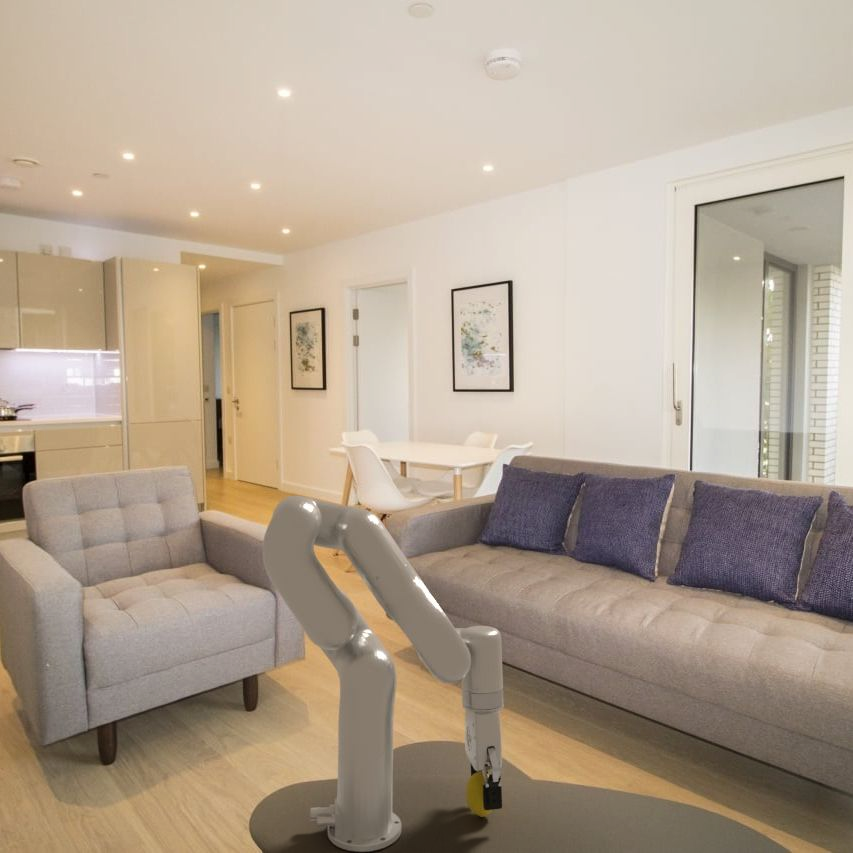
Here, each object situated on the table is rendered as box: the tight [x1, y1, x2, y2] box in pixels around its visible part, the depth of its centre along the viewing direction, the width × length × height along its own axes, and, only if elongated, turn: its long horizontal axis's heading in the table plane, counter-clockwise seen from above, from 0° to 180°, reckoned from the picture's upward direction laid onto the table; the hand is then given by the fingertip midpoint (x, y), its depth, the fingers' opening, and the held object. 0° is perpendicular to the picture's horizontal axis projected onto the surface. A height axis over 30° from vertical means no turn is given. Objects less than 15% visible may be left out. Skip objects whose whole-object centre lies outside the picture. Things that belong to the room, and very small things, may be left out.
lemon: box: [465, 771, 493, 818], centre depth 115 cm, size 6×6×8 cm
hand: (486, 794), depth 115 cm, fingers open, 9 cm apart
